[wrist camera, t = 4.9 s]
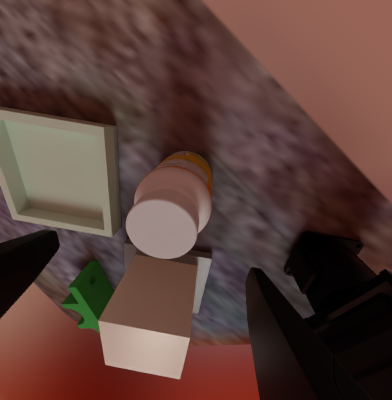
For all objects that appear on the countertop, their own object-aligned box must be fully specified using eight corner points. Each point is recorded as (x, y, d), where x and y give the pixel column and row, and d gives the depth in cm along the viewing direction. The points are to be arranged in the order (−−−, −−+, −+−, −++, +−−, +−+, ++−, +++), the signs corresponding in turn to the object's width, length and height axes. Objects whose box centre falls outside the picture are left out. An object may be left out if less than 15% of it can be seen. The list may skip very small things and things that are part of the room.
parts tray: (116, 125, 17) (103, 127, 15) (121, 226, 22) (112, 237, 20) (-2, 106, 17) (-30, 104, 15) (30, 209, 22) (12, 219, 20)
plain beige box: (211, 253, 22) (210, 331, 14) (198, 306, 27) (192, 388, 19) (127, 238, 22) (78, 306, 14) (129, 293, 27) (93, 368, 19)
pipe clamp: (75, 260, 26) (49, 288, 22) (98, 259, 25) (75, 287, 21) (105, 310, 30) (87, 341, 26) (125, 309, 30) (110, 341, 25)
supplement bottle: (193, 208, 20) (177, 281, 11) (151, 182, 19) (98, 239, 10) (223, 170, 18) (232, 224, 9) (177, 138, 17) (138, 163, 8)
